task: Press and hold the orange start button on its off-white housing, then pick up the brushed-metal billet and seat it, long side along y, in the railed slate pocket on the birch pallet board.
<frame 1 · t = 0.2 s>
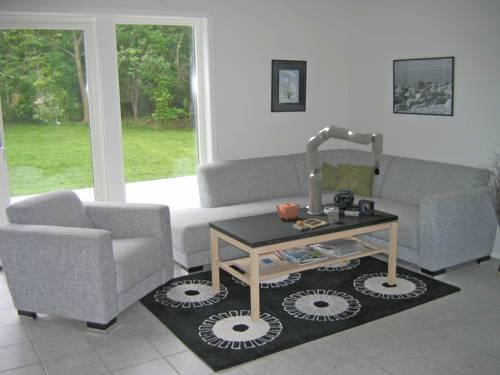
hand: (376, 173, 386), 31 cm above the table, tool pointing down, fingers open, 9 cm apart
small box: (366, 214, 395), on the table
button housing: (300, 229, 364), on the table
metal billet: (333, 222, 378), on the table
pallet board: (312, 224, 374), on the table
start button: (300, 224, 363), point 4 cm above the table, slide at 0.0 cm
decorative stone: (343, 208, 414), on the table
teapot: (287, 219, 390), on the table
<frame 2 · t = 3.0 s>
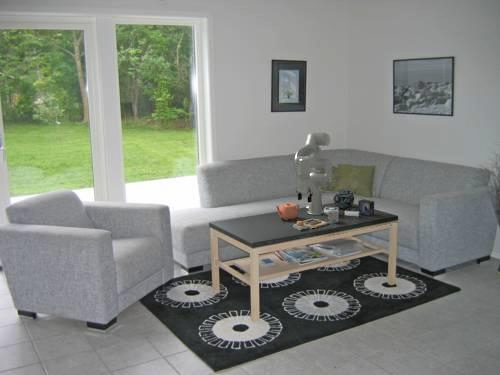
hand: (304, 200, 361), 19 cm above the table, tool pointing down, fingers open, 9 cm apart
nothing on the table moved.
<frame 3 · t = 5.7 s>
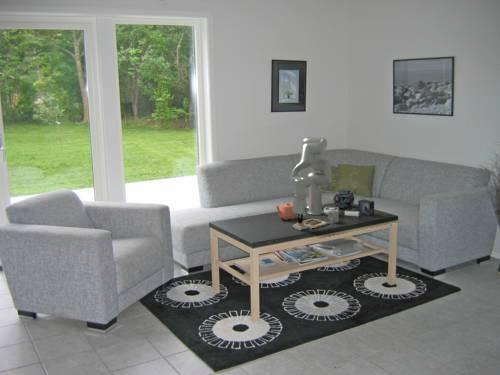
hand: (300, 222, 363), 5 cm above the table, tool pointing down, fingers closed
start button: (300, 225, 363), point 3 cm above the table, slide at 0.7 cm, touching gripper
everything else where it was.
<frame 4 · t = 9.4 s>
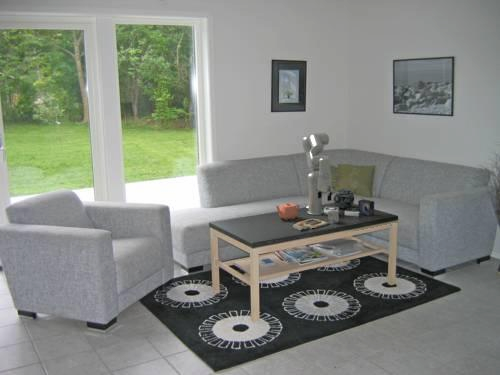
hand: (324, 199, 370), 18 cm above the table, tool pointing down, fingers open, 9 cm apart
start button: (300, 225, 363), point 3 cm above the table, slide at 0.9 cm
everything else where it was.
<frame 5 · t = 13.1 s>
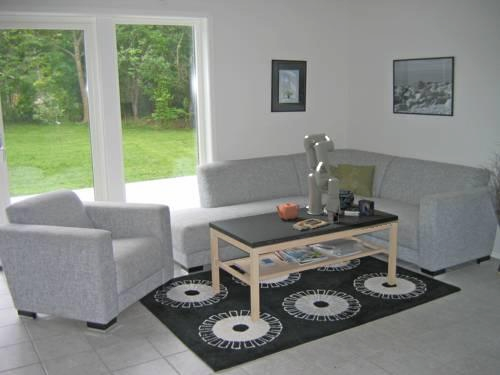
hand: (333, 220, 377), 1 cm above the table, tool pointing down, fingers closed on metal billet, 4 cm apart
metal billet: (333, 222, 378), on the table, touching gripper
everything else where it was.
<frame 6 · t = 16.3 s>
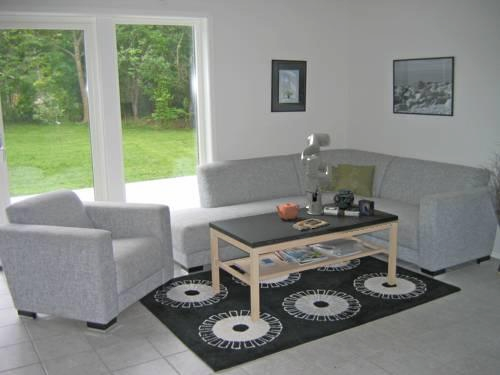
hand: (312, 200, 370), 17 cm above the table, tool pointing down, fingers closed on metal billet, 4 cm apart
metal billet: (312, 202, 370), point 16 cm above the table, touching gripper
everything else where it was.
when the fingers open (3 cm above the table, at t = 19.5 s): metal billet stays where it is, resting on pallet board.
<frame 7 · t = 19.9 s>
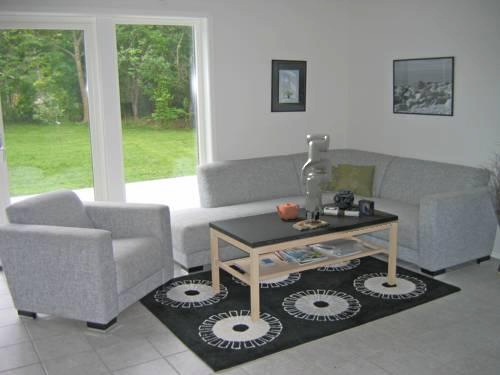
hand: (312, 218, 373), 4 cm above the table, tool pointing down, fingers open, 8 cm apart
metal billet: (312, 222, 373), point 1 cm above the table, touching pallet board
everything else where it was.
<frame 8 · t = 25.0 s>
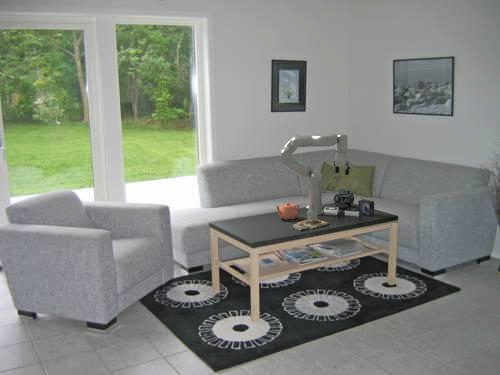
hand: (342, 173, 394), 30 cm above the table, tool pointing down, fingers open, 9 cm apart
nothing on the table moved.
at the end: start button slide at 0.9 cm; metal billet 0.1 cm off-centre on the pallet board, point 1.3 cm above the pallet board's base; metal billet tilted 0° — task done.
